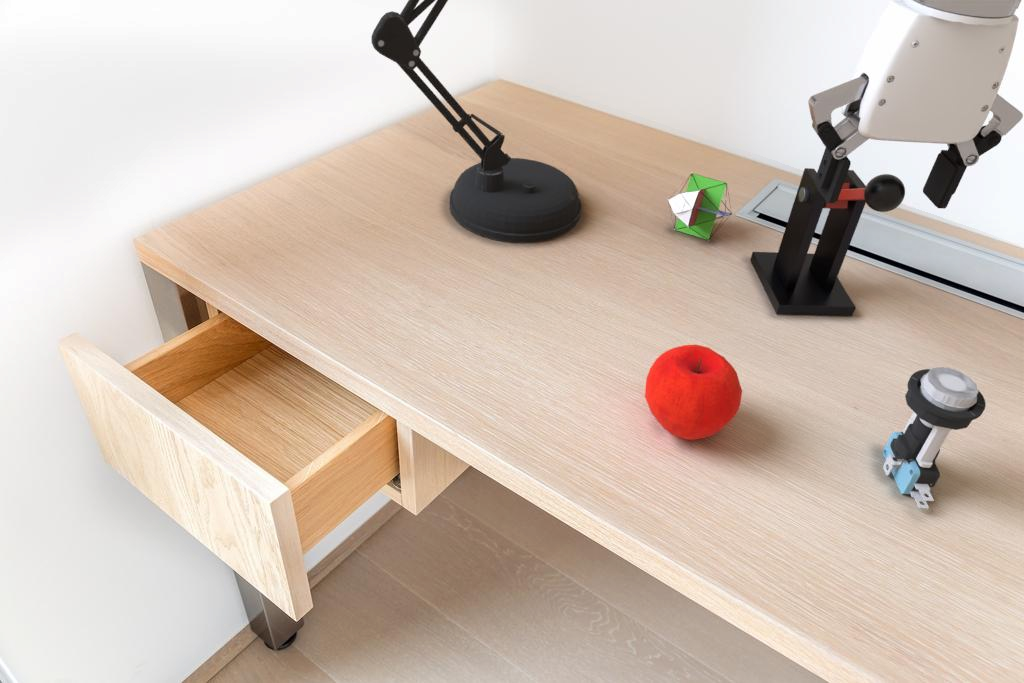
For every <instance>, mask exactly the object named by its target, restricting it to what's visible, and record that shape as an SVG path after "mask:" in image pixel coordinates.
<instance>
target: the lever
mask: <svg viewBox="0 0 1024 683" xmlns="http://www.w3.org/2000/svg"><path fill="white" fill-rule="evenodd" d="M865 185H866V188H858V189H849V186H850V184H849V183H844V184H843V186H842V189H841V192H840V195H839V197H838V200H837V202H835V203H827V202H826V201H825V204H824V207H823V209H828V210H830V209H846V208H847V206H848V201H854V200H865V201H866V203H865V204H866V205H867V206H868V207H869V208H870V209H872V210H873V211H875V212H880V213H886V212H888V213H889V212H890V211H893V210H895V209H896V208H898V207H899V206H900V205H901V204H902V203H903V201H904V199H905V196H906V188H905V185H904V182H903V181H902V180H901V179H900V178H899V177H898V176H896V175H894V174H889V173H882V174H879V175H876V176H874V177H873V178H871V179H870V180H869V181H868V182H867V184H865Z"/></svg>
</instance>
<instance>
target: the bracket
mask: <svg viewBox="0 0 1024 683" xmlns="http://www.w3.org/2000/svg"><path fill="white" fill-rule="evenodd" d="M817 172H818V171H817V170H816V169H815V168H809V167H806V168H804V170H803V173H802V176H801V178H800V182H799V185H798V188H797V192H796V195H795V197H794V200H793V204H792V207H791V210H790V213H789V217H788V219H787V222H786V226H785V228H784V232H783V235H782V238H781V241H780V245H779V248H778V251H777V252H776V251H774V252H773V251H772V252H771V251H752V253H751V257H750V259H749V260H750V261H749V262H750V263H751V265H752V267H753V269H754V272H755V273H756V275H757V278H758V279H759V281H760V283H761V286H762V288H763V290H764V292H765V294H766V296H767V298H768V300H769V302H770V304H771V306H772V308H773V310H774V312H775V314H776V315H784V316H785V315H787V316H789V315H790V316H823V317H853V316H854V313H855V311H856V309H857V307H856V305H855V304H854V301H853V300H852V298H851V297H850V296H849V293H848V292H847V290H846V289H845V288H844V286H843V284H842V282H841V281H840V279H839V278H838V277H839V274H840V271H841V268H842V266H843V263H844V261H845V258H846V255H847V252H848V250H849V247H850V245H851V242H852V240H853V237H854V234H855V231H856V229H857V227H858V225H859V221H860V219H861V216H862V214H863V212H864V209H865V207H866V204H867V203H866V201H865V200H854V201H848V206H847V208H846V209H829V211H828V214H827V217H826V220H825V222H824V225H823V228H822V231H821V233H820V236H819V239H818V242H817V244H816V247H815V250H814V253H808V252H809V249H810V247H811V244H812V240H813V238H814V235H815V232H816V229H817V227H818V224H819V221H820V217H821V215H822V212H823V210H824V208H823V207H824V204H825V199H824V198H823V196H822V195H821V194H820V192H819V191H818V189H817V186H816V184H815V178H816V174H817ZM844 183H849V184H850V186H849V189H858V188H866V185H867V184H865V183H864V182H863V181H862V179H861V177H859V175H858V174H857V173H856V171H855V170H854V169H849V170H848V173H847V176H846V178H845V181H844Z"/></svg>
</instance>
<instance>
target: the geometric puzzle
mask: <svg viewBox="0 0 1024 683" xmlns="http://www.w3.org/2000/svg"><path fill="white" fill-rule="evenodd" d="M687 182H688V183H687ZM683 184H684V185H683ZM686 184H687V187H686V191H684V192H682V190H683V189H684V187H685V186H686ZM681 185H683V186H682V188H681V190H680V191H679V193H677V194H676V195H674V196H671V197H669V198H667V201H668V202H667V203H668V204H669V205H668V206H669V207H668V208H670V209H671V210H672V212H671V210H670V213H673V215H674V216H675V217H674V218H675V219H674V220H673V219H671V220H672V222H674V221H676V222H675V224H673V231H677V232H679V233H684V234H687V235H691V236H693V237H697V238H700V239H703V240H707V241H708V242H710V239H711V238H712V237H713V236H714V234H716V230H720V228H721V227H722V226H723V224H721V223H723V220H724V219H725V218H726V217H727V218H726V219H725V220H724V222H726V221H727V220H728V219H729V218H730V216H732V215H733V212H732V211H731V209H729V208H728V207H727V201H723V200H722V199H723V196H724V193H725V194H728V196H730V194H729V192H728V190H729V187H728V182H726V181H721V180H718V179H714V178H710V177H706V176H703V175H700V174H696V173H693V172H690V174H689V177H687V179H686V180H685V181H683V182H682V183H681ZM676 192H677V190H675V191H674V192H673V194H675V193H676ZM728 199H729V200H728V201H729V202H731V200H730V198H728ZM724 202H725V203H724ZM721 203H722V204H723V205H724V211H723V210H720V206H721ZM731 206H732V205H730V206H729V207H730V208H732V207H731ZM726 210H728V212H727V211H726ZM717 215H719V216H717ZM670 216H671V217H672V214H671V215H670ZM719 219H722V220H721V221H720V223H719V224H718V226H717V227H716V228H715V230H714V231H713V227H714V224H715V222H716V220H719ZM712 231H713V233H712Z"/></svg>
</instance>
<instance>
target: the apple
mask: <svg viewBox="0 0 1024 683" xmlns="http://www.w3.org/2000/svg"><path fill="white" fill-rule="evenodd" d="M645 380H646V381H645V388H644V389H645V390H644V391H645V392H644V398H645V400H646V403H647V405H648V409H649V411H650V413H651V414H652V416H653V418H655V420H656V421H657V423H659V424H660V426H661V427H662V428H663V429H664V430H665V431H667V432H668V433H670V434H671V435H674V436H676V437H678V438H681V439H684V440H691V441H692V440H693V441H694V440H699V439H703V438H707V437H711V436H713V435H715V434H716V433H719V432H720V431H721V430H722V429H724V428H725V427H726V426H727V424H729V423H730V422H731V421H732V420H733V419H734V418H735V417H736V415H737V413H738V412H739V410H740V406H741V405H742V404H741V403H742V395H743V389H742V386H741V383H740V380H739V376H738V372H737V371H736V369H735V367H734V366H733V365H732V364H731V363H730V362H729V361H728V360H727V358H725V357H724V356H723V355H721V354H719V353H718V352H717V351H715V350H713V349H712V348H710V347H708V346H704V345H698V344H685V345H680V346H676V347H673V348H670V349H667V350H666V351H664V352H662V353H661V354H660V355H659V356H658V357H657V358H655V360H654V362H653V363H652V365H651V366H650V368H649V371H648V373H647V376H646V379H645Z"/></svg>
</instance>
